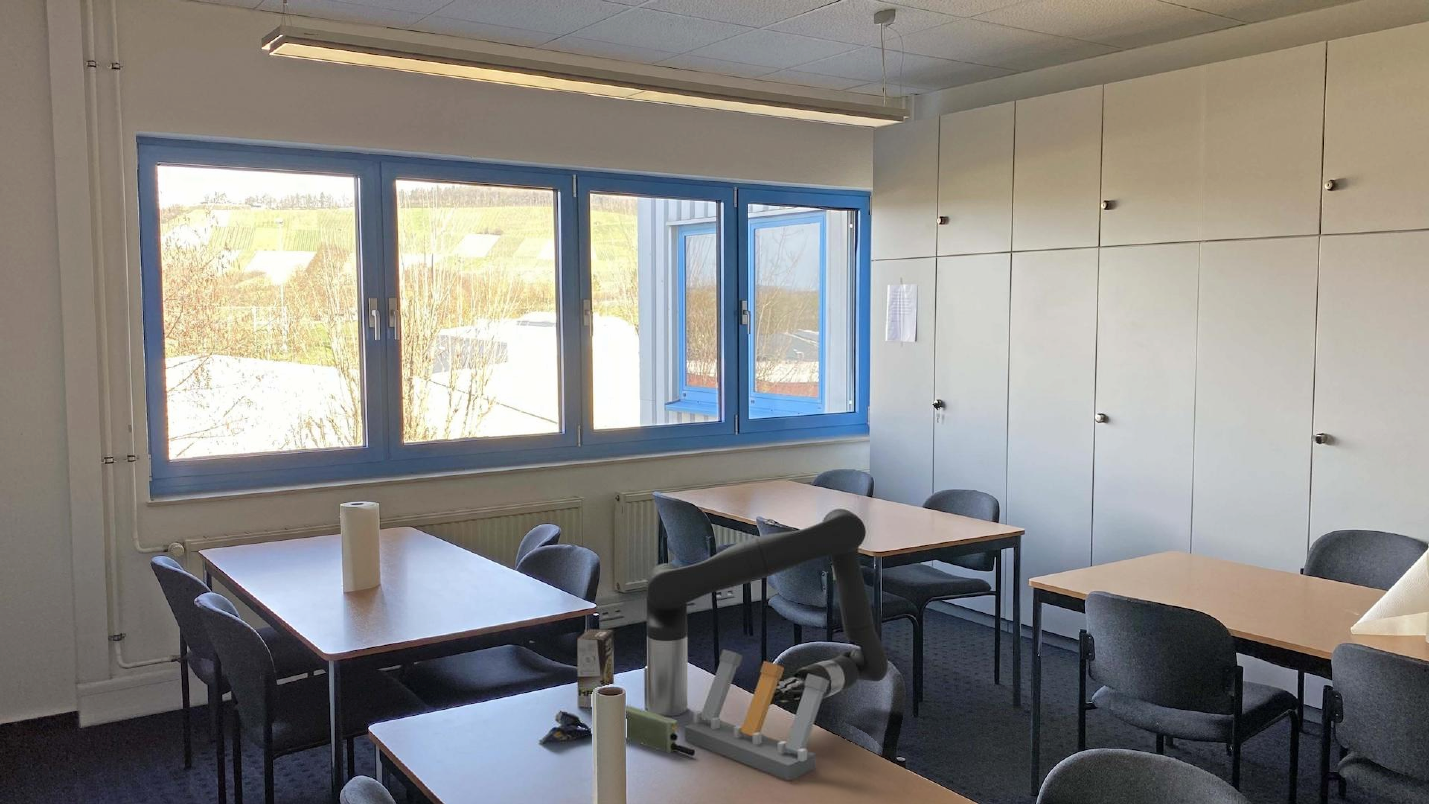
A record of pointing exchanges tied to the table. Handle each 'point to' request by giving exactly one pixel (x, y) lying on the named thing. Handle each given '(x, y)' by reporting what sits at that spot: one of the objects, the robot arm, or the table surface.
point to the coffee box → (594, 663)
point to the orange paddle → (762, 698)
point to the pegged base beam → (749, 748)
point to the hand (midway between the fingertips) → (766, 699)
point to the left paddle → (721, 684)
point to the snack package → (566, 728)
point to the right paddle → (806, 712)
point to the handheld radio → (653, 730)
